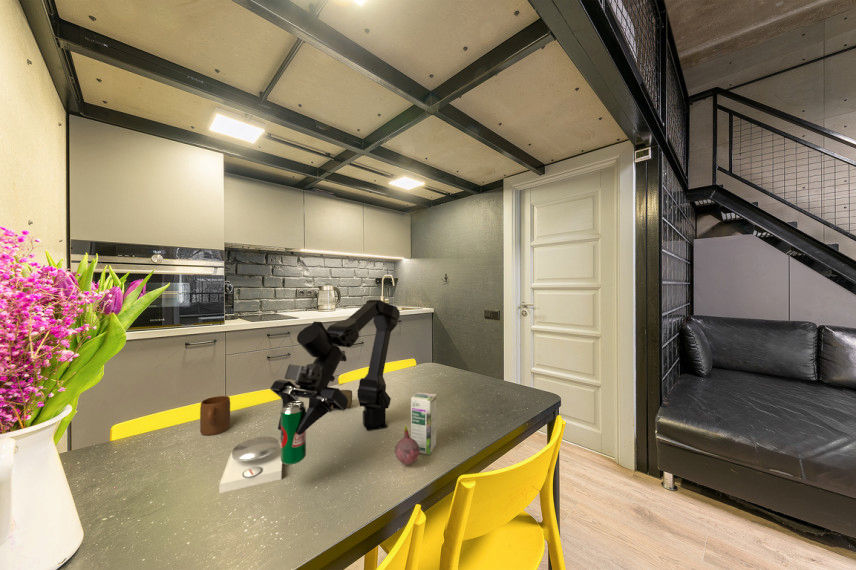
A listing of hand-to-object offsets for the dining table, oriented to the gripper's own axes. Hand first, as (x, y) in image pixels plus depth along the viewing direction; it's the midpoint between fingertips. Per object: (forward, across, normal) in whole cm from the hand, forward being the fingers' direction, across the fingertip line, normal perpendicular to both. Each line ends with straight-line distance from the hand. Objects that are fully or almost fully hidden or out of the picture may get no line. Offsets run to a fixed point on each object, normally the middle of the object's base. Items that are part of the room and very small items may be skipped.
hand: (288, 432), depth 65 cm
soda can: (+4, 0, +6) cm, 7 cm away
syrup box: (-10, +20, +30) cm, 37 cm away
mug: (+1, -42, +18) cm, 46 cm away
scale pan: (+5, -16, +11) cm, 20 cm away
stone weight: (-19, -22, +38) cm, 48 cm away
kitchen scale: (+7, -15, +12) cm, 20 cm away
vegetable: (-4, +19, +23) cm, 30 cm away
